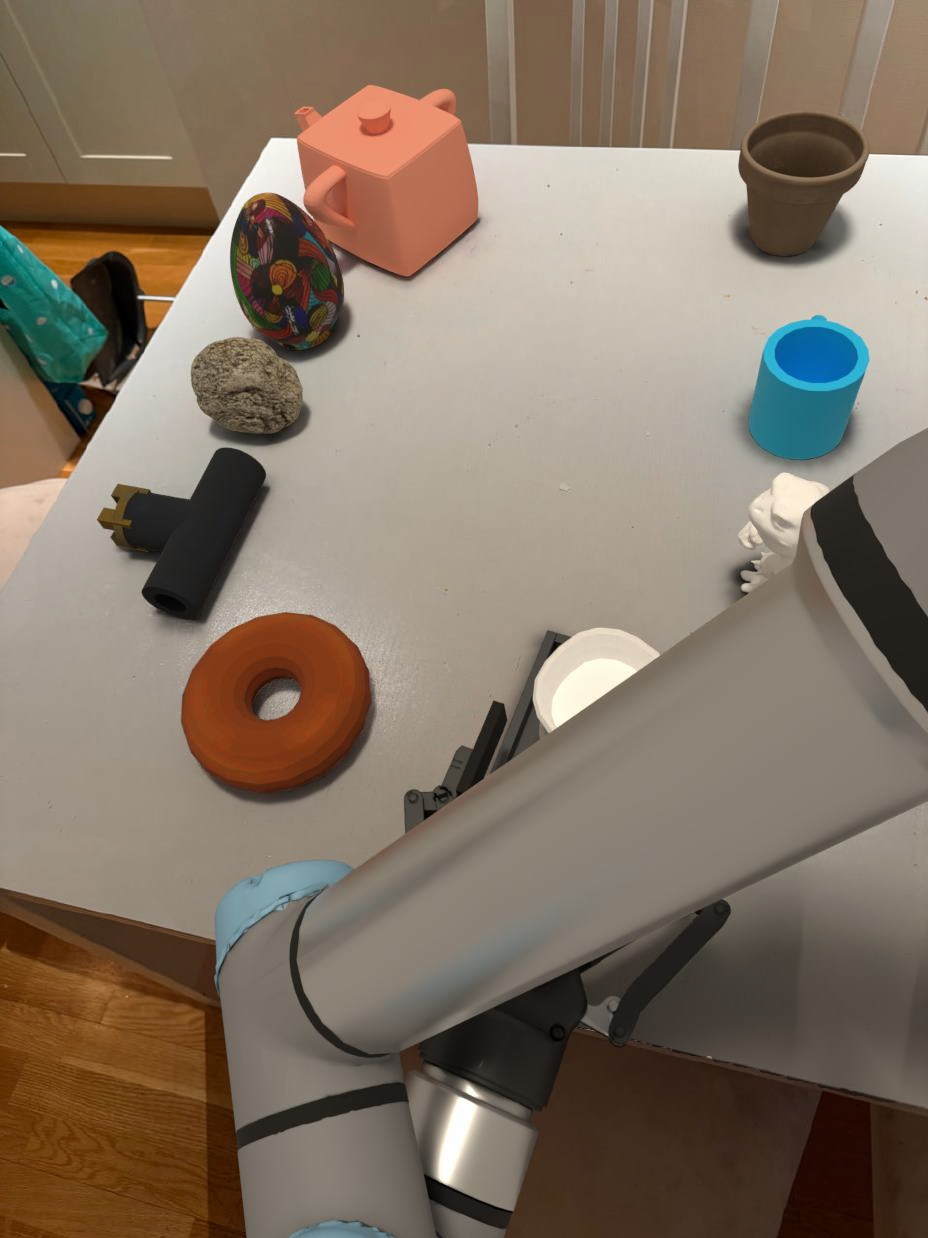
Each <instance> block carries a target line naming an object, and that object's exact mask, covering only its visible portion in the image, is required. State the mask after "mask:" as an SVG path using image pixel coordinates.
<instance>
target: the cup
mask: <svg viewBox="0 0 928 1238" xmlns="http://www.w3.org/2000/svg"><path fill="white" fill-rule="evenodd" d="M570 637H571V638H570V639H569V640H567V641H566V642H564V643H563V644H562V645H560V646H559V647H558V648H557V649H556V650H555V651H554V652H553V653H552V654H551V656H550V657H549V658H548V659H547V660H546V661H545V662H544V664H543V666H542V668H541V670H540V671H539V673H538V675H537V677H536V678H535V683H534V692H533V703H534V706H535V710H536V714H537V717H538V719H539V720H540V729H539V736H540V739H541V738H543V737H544V736H546V735H547V734H549V733H550V732H551V731H553V730H554V729H556V728H557V727H559V726H560V725H561V724H563V723H564V722H566V721H567V720H569V719H570V718H571V717H573V716H574V715H576V714H577V713H579V712H580V711H581V710H583V709H584V708H586V707H587V706H589V705H590V704H591V703H593V702H594V701H596V700H597V699H599V698H600V697H601V696H603V695H604V694H606V693H607V692H609V691H610V690H611V689H613V688H614V687H616V686H617V685H619V684H620V683H621V682H623V681H624V680H626V679H627V678H629V677H630V676H631V675H633V674H634V673H636V672H637V671H639V670H640V669H641V668H643V667H644V666H646V665H647V664H649V663H650V662H651V661H653V660H654V659H656V658H657V657H659V656H660V655H661V654H662V653H661V654H660V652H659V651H657V650H656V649H655V648H653V647H652V646H651V645H649V644H648V643H646V642H645V641H644V640H642V638H640V637H639V636H637V635H635V634H632V633H629V632H627V631H625V630H622V629H620V628H611V627H600V626H599V627H594V628H589V629H586V630H583V631H578V632H577V633H576V634H574V635H573V636H570Z"/></svg>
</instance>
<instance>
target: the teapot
mask: <svg viewBox="0 0 928 1238" xmlns="http://www.w3.org/2000/svg"><path fill="white" fill-rule="evenodd" d="M456 111H457V98H456V95H455V93H454V92H453V91H452V90H450V89H448V88H440V89H437V90H434V91H431V92H429V93H428V94H426V95H425V96H423V97H422V98H420V99H418V98H414V97H412V96H409V95H406V94H403V93H400V92H397V91H395V90H391V89H389V88H385V87H381V86H378V85H373V84H368V85H366V86H365V87H364V88H362V89H360V90H359V91H357V92H356V93H354V94H353V95H352V96H350V97H349V98H347V99H346V100H344V101H343V102H342V103H340V104H339V105H337V106H336V107H334V109H332V110H330V111H329V112H327V113H326V114H325V115H324V116H322V115H321V114H320V113H318V111H316V109H315V107H313V106H304V105H303V106H302V107H301V108H299V109H298V110H296V111H295V112H293V116H294V117H295V119H296V122H297V123H298V125H299V127H300V129H301V131H302V132H301V133H300V134H298V135H297V137H296V145H297V150H298V151H297V152H298V158H299V164H300V170H301V175H302V180H303V187H304V194H303V198H302V199H303V200H302V203H303V205H304V206H303V207H304V209H305V211H307V214H308V215H309V216H310V217H311V218H312V219H313V220H314V221H315V223H316V224H317V225H318V226H319V227H320V229H321V230H322V232H323V233H324V234H325V236H326V238H327V239H328V241H329V242H332V243H333V244H335V245H336V246H338V247H340V248H342V249H343V250H345V251H347V252H349V253H350V254H351V255H353V256H355V257H358V258H360V259H362V260H363V261H366V262H368V263H370V264H373V265H374V266H377V267H379V268H382V269H384V270H387V271H388V272H392V273H394V274H396V275H400V276H403V277H410V276H412V275H413V274H415V273H416V272H417V271H419V270H420V269H422V267H423V266H425V265H426V264H427V263H428V262H430V261H431V260H432V259H433V258H435V257H436V256H437V255H438V254H439V253H441V252H442V251H443V250H444V249H445V248H447V247H448V246H449V245H450V244H451V243H453V242H454V241H455V240H456V239H457V238H459V236H461V235H462V234H463V233H464V232H465V231H466V230H468V229H469V228H470V227H471V226H472V225H473V224H474V223H475V222H476V221H477V220H478V216H479V193H478V186H477V181H476V175H475V169H474V165H473V161H472V156H471V152H470V148H469V144H468V141H467V137H466V134H465V129H464V126H463V123H462V120H461V119H459V118H458V117H457V116H456Z"/></svg>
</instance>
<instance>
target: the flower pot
mask: <svg viewBox="0 0 928 1238" xmlns="http://www.w3.org/2000/svg"><path fill="white" fill-rule="evenodd" d="M870 147H871V146H870V141H869V139H868V137H867V135H866V134H865V132H864V131H863V129H861V128H860V127H859V126H858V125H856V124H855V123H854V122H852V121H850V120H849V119H847V118H845V117H843V116H839V115H837V114H834V113H831V112H825V111H819V110H809V109H808V110H806V109H803V110H802V109H801V110H791V111H784V112H779V113H776V114H773V115H770V116H767V117H765V118H762V119H761V120H759V121H758V122H756V123H754V124H753V125H752V126H751V127H750V128H749V129H748V130H747V131H745V134H744V135H743V137H742V140H741V143H740V149H739V155H738V156H739V158H738V164H737V169H738V174H739V177H740V178H741V179H742V181H743V182H744V184H745V187H746V199H747V200H746V201H747V215H748V224H749V232H750V239H751V241H752V242H753V244H754V245H755V247H757V248H758V249H759V250H760V251H762V252H764V253H767V254H769V255H773V256H778V257H790V256H796V255H800V254H803V253H804V252H806V251H808V250H810V249H811V248H812V247H813V246H814V245H815V243H816V242H817V240H818V239H819V238H820V236H821V234H822V233H823V231H824V230H825V228H826V226H827V224H828V222H829V221H830V219H831V217H832V216H833V214H834V212H835V210H836V208H837V206H838V204H839V203H840V201H841V199H842V197H843V196H844V195H845V194H846V193H848V192H850V190H852V189H853V188H854V187H855V186H856V185H857V184H858V183H859V181H860V180H861V177H862V175H863V172H864V169H865V166H866V164H867V161H868V159H869V156H870V153H871V152H870V151H871V148H870Z"/></svg>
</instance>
